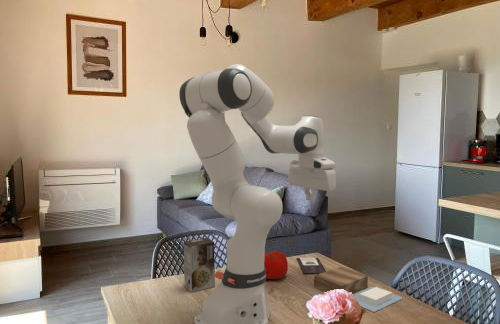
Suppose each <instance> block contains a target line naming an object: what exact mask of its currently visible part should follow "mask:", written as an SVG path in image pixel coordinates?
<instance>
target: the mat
mask: <svg viewBox="0 0 500 324" xmlns="http://www.w3.org/2000/svg"><path fill="white" fill-rule="evenodd" d="M372 288H375V286H371V287H367V288H365V289H362V290H360V291H357V292H355V293H353V294H354V295H355V298H356V299H357V301H358V302H359V304H360V305H361V306H362V307H363V308H362V309H364V308H365V309H364V310H366V309H368V310H367V311H369V310H370V311H369V312H371V311H372V312H371V313H377V312H379V311H381V310H382V309H385V308H387V307H389V306H391V305H394V304H396V303H397V302H400V301H402V300H403V299H404V297H402V296H399V295H396V294H394V293H392V299H390V300H388V301H386V302H384V303H381V304H379V305H377V306H374V305H371V304H369V303H366V302H363V301H361V300H359V297H360V294H361V293H363V292H365V291H368V290H370V289H372ZM378 310H379V311H378ZM376 311H377V312H376Z"/></svg>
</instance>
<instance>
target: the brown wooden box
mask: <svg viewBox="0 0 500 324" xmlns="http://www.w3.org/2000/svg"><path fill="white" fill-rule="evenodd" d="M313 275H314V276H313V287H314V288H315V289H316V288H317V289H319V290H321V291H324V292H326V291H330V290H334V289H344V290H346V291H348V292H352V294H355V293H357V292H360V291H362V290H365V289H367V288H369V286H368V283H369V282H368V281H369V279H368V278H369V276H368V275H366V274H363V273H360V272H357V271H355V270H354V271H353V270H351V269H348V268H344V267H343V266H339V267H337V268H333V269H330V270H326V272H323V273H320V274H313Z"/></svg>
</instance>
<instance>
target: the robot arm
mask: <svg viewBox="0 0 500 324" xmlns="http://www.w3.org/2000/svg"><path fill="white" fill-rule="evenodd" d="M179 100H180V104H181V108H182V109H183V110H184V113H185V115H186V116H187V118H188V120H187V122H186V127H187V131H188V134H189V137H190V140H191V143H192V145H193V148H194V150H195V152H196V154H197V156H198V158H199V160H200V162H201V164H202V165H203V167H204V170H205V171H206V173H207V175H208V177H209V179H210V183H211V186H212V190H213V191H212V194H211V205H212V207H213V209H214V210H215V211H216V212H218V213H219V214H220V215H221V216H223V217H225V218H227V219H230V220H233V221H235V222H236V228H235V232H234V234H233V236H231V237H230V238H229V239H228V240H227V243H226V267H225V269H224V271H223V272H221V271H220V270H217V271H215V279H218V280H221V282H220V283H219V284H218V285H217V286H216V288H215V289H213V291H211V293H210V294H209V295H208V296H207V297H206V298H204V300H203V304H202V309H201V313H198V314H197V315H195V316H194V317H193V318H194V319H193V322H194V323H193V324H269V319H270V317H271V315H270V314H271V313H270V310H269V306H268V302H267V296H266V287H265V286H266V285H265V282H266V280H267V279H266V269H265V267H264V255H265V253H266V251H265V250H266V248H265V247H266V241H267V237H268V234H269V232H270V230H271V228H272V227H273V226H274V225H276V223H278V221H280V218H281V217H282V214H283V209H284V208H283V201H282V198H281V197H280V195H279V194H278V193H276V192H274V191H273V190H271V189H269V188H267V187H264V186H259V185H253V184H250V183H249V182H248V181H247V180H246V179H245V175H244V171H245V169H246V165H247V162H246V160H247V159H246V158H245V156H244V154H243V151H242V149H241V148H240V146H239V144H238V142H237V141H238V140H237V139H236V138H235V135H234V134H233V132H232V129H231V128H230V127H229V125H228V123H227V121H226V116H225V112H228V111H231V110H239V111H240V113H241V114H240V115H241V116H242V119H243V120H244V121H245V122H246V124H247V125H248V126H249V128H250V129H251V130H252V131H253V132H254V133H255V134H256V135H257V136H258V138H259V139H260V141H261V143H262V145H263V147H264V149H265V150H266V151H267V152H268V153H270V154H287V155H288V154H290V155H291V154H293V155H298V160H295V159H294V160H292V161H291V162H290V163H289V169H288V176H287V183H288V185H290V186H294V187H300V188H303V192H304V194H305V200H306V201H311V202H315V201H316V196H317V194H318V192H319V190H320V191H324V192H325V191H327V192H330V191H331V192H332V191H334V190H335V189H336V187H337V173H336V170H335V169H334V168H336V163H335V162H334V161H333V160H332V159H330V158H328V157H325V152H324V148H323V147H324V143H325V128H324V122H323V119H322V118H321V117H319V116H317V115H316V116H315V115H303V116H301V117H300V120H299V121H298V122H297V123H296V124H294V125H278V124H273V123H271V122H270V120H269V119H268V118H267V117H268V115H269V114H270V113H271V112H272V110H273V107H274V105H275V95H274V93H273V91H272V89H271V88H270V87H269V86H268V85H267V84H266V83H265V82H264V81H263V80H262V79H261V78H260V76H258V75H257V74H256V73H255V72H253V71H252V70H251V69H250V68H248V67H246V66H245V65H243V64H242V63H241V64H239V63H233V64H231V65H229V66H227V67H226V68H225V69H221V70H214V71H208V72H205V73H202V74H199V75H197V76H193V77H191V78H188V79H187V80H185V82H183V83H182V84H181V86H180V88H179ZM310 191H311V192H310Z"/></svg>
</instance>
